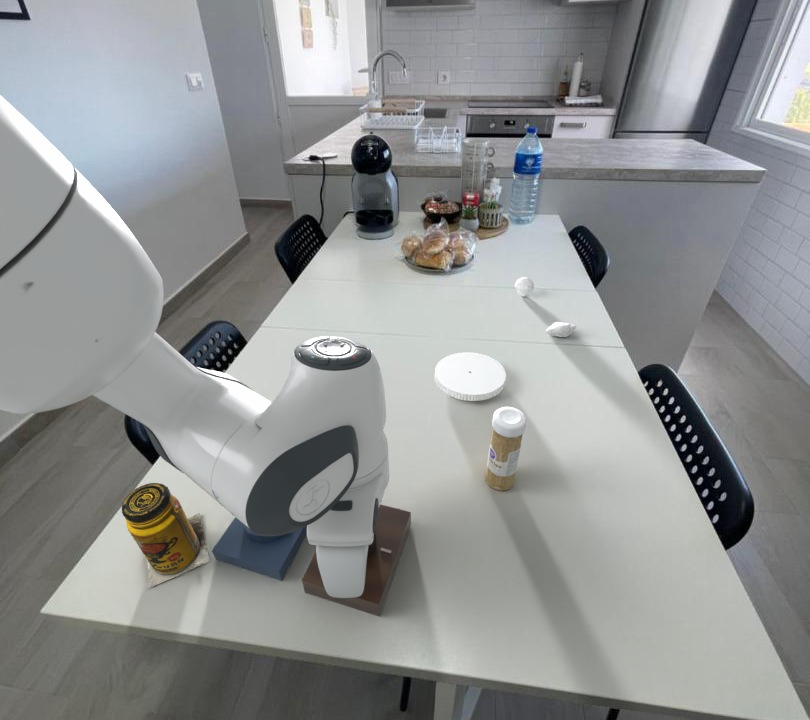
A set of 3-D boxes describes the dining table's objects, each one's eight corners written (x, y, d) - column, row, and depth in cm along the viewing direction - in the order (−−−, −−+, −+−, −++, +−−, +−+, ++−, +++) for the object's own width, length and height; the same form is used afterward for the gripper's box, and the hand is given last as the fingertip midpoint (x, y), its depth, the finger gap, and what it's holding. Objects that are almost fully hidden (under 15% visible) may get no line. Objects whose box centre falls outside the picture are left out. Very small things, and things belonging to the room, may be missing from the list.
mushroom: (509, 294, 120) (512, 277, 117) (522, 289, 122) (524, 272, 120) (524, 301, 117) (526, 284, 114) (536, 296, 119) (539, 278, 116)
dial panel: (380, 616, 53) (378, 603, 51) (305, 592, 56) (301, 579, 54) (411, 524, 63) (410, 511, 62) (346, 507, 66) (344, 494, 64)
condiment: (149, 588, 57) (112, 533, 50) (146, 535, 63) (112, 479, 56) (210, 562, 59) (182, 506, 52) (200, 514, 65) (174, 458, 58)
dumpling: (553, 345, 101) (551, 329, 99) (543, 336, 105) (541, 321, 103) (582, 336, 101) (581, 320, 99) (571, 328, 106) (570, 313, 104)
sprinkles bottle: (478, 477, 70) (486, 413, 62) (500, 464, 72) (510, 401, 64) (498, 497, 67) (509, 432, 59) (520, 483, 69) (533, 419, 61)
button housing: (282, 581, 57) (276, 564, 55) (215, 560, 60) (207, 542, 57) (323, 505, 66) (319, 487, 64) (264, 489, 69) (258, 472, 67)
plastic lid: (451, 355, 97) (451, 345, 96) (513, 373, 92) (515, 363, 90) (422, 391, 87) (422, 381, 86) (490, 414, 82) (492, 403, 80)
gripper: (334, 405, 58) (344, 476, 66) (302, 551, 41) (321, 622, 49) (382, 405, 58) (387, 476, 66) (370, 552, 41) (378, 623, 49)
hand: (358, 540), depth 57 cm, fingers closed on dial, 4 cm apart
